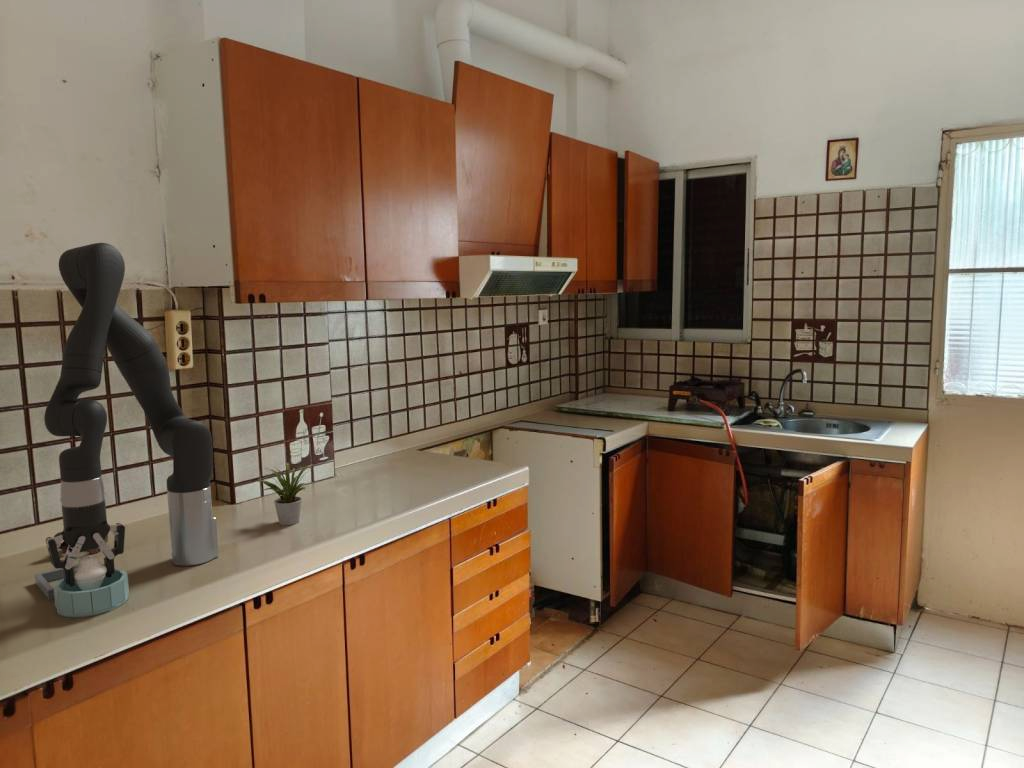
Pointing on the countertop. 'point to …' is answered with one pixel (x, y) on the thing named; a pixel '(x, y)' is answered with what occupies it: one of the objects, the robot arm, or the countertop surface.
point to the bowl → (91, 596)
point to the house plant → (287, 496)
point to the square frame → (48, 576)
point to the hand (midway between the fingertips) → (90, 580)
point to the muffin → (89, 573)
